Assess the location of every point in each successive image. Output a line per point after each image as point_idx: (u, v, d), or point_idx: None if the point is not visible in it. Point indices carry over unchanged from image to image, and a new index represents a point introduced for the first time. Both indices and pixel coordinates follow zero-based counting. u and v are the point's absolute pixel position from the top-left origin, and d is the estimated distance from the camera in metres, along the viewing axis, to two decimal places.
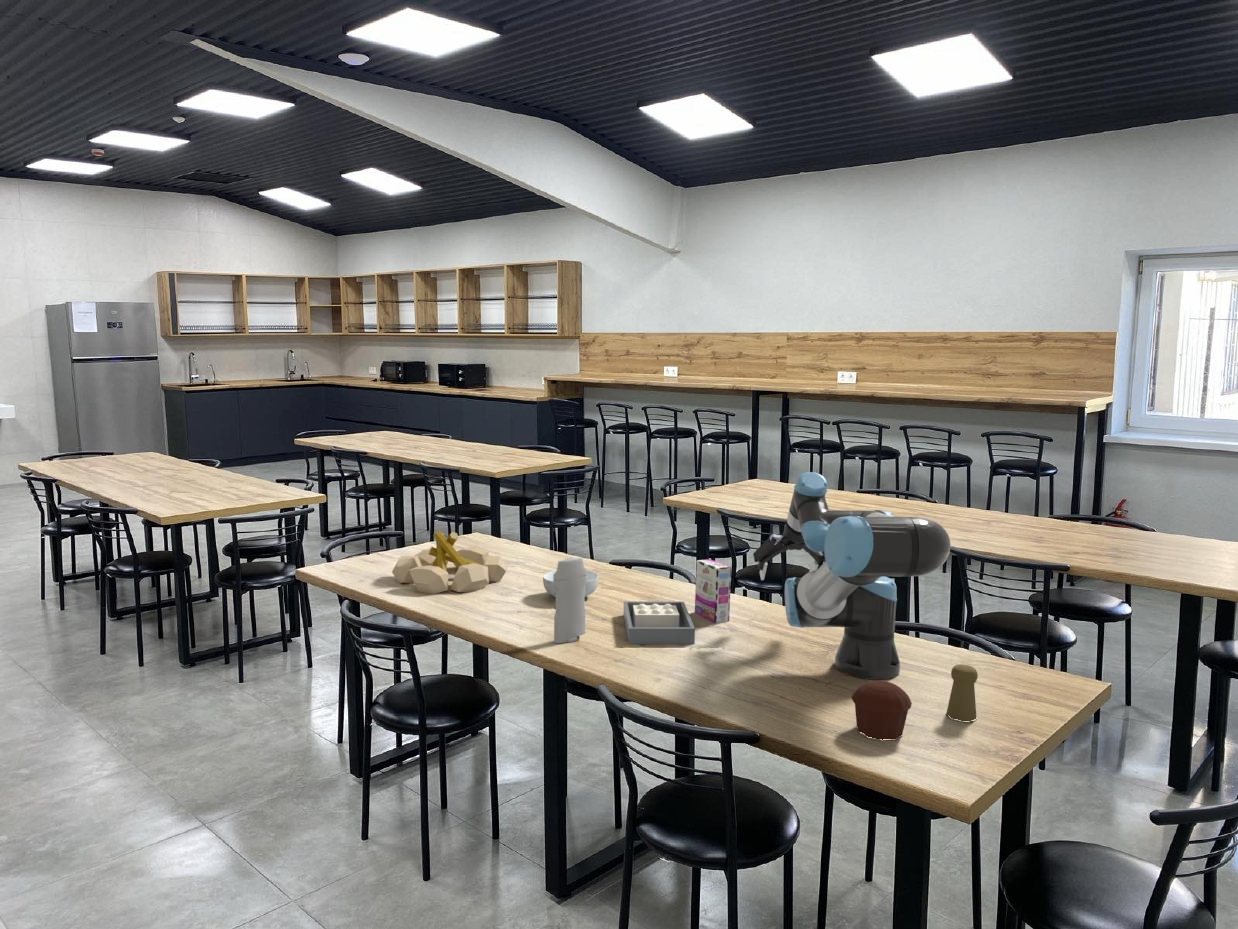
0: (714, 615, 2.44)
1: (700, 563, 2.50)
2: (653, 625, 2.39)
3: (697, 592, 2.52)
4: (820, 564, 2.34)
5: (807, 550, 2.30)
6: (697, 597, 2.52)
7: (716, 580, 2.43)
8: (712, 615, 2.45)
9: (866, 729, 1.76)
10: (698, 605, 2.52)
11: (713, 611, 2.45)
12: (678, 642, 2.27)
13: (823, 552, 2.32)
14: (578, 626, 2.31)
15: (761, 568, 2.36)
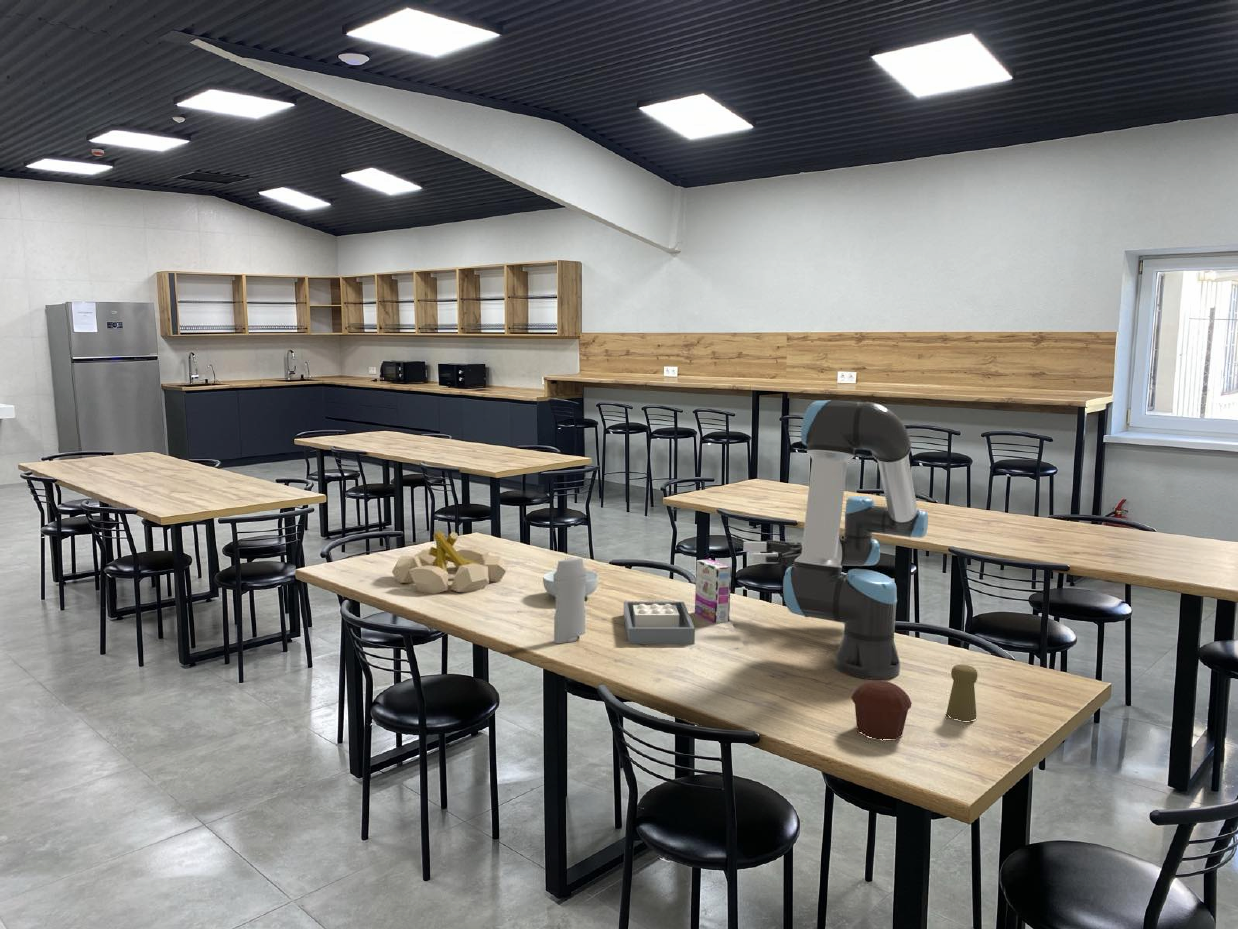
0: (714, 615, 2.44)
1: (700, 563, 2.50)
2: (653, 625, 2.39)
3: (697, 592, 2.52)
4: None
5: (795, 549, 2.45)
6: (697, 597, 2.52)
7: (716, 580, 2.43)
8: (712, 615, 2.45)
9: (866, 729, 1.76)
10: (698, 605, 2.52)
11: (713, 611, 2.45)
12: (678, 642, 2.27)
13: (795, 554, 2.41)
14: (578, 626, 2.31)
15: None
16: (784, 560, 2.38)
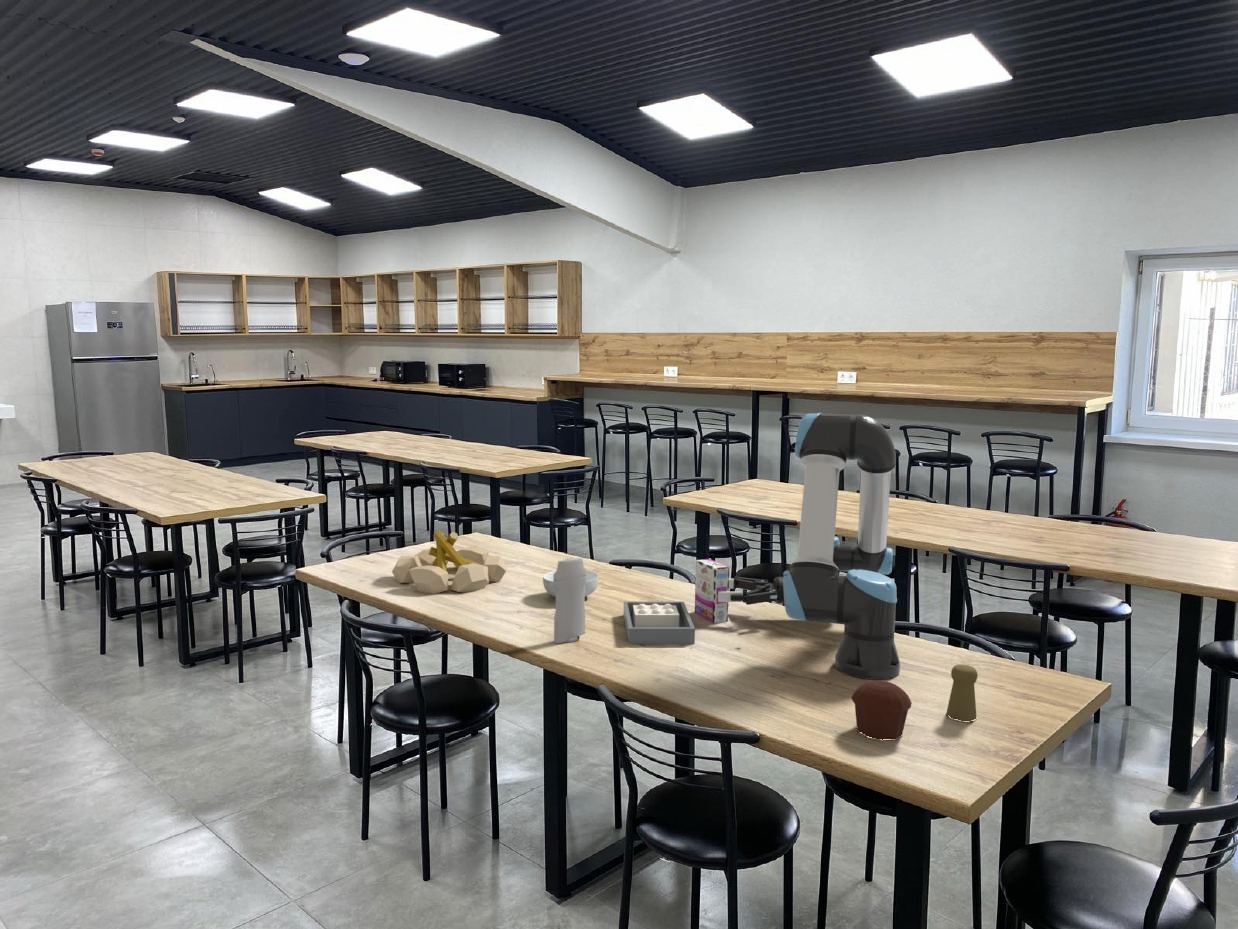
0: (712, 615, 2.44)
1: (699, 563, 2.50)
2: (653, 625, 2.39)
3: (696, 592, 2.52)
4: None
5: (761, 587, 2.47)
6: (697, 597, 2.52)
7: (714, 580, 2.43)
8: (710, 615, 2.45)
9: (866, 729, 1.76)
10: (697, 605, 2.52)
11: (711, 610, 2.45)
12: (678, 642, 2.27)
13: (759, 593, 2.43)
14: (578, 626, 2.31)
15: None
16: (748, 599, 2.40)
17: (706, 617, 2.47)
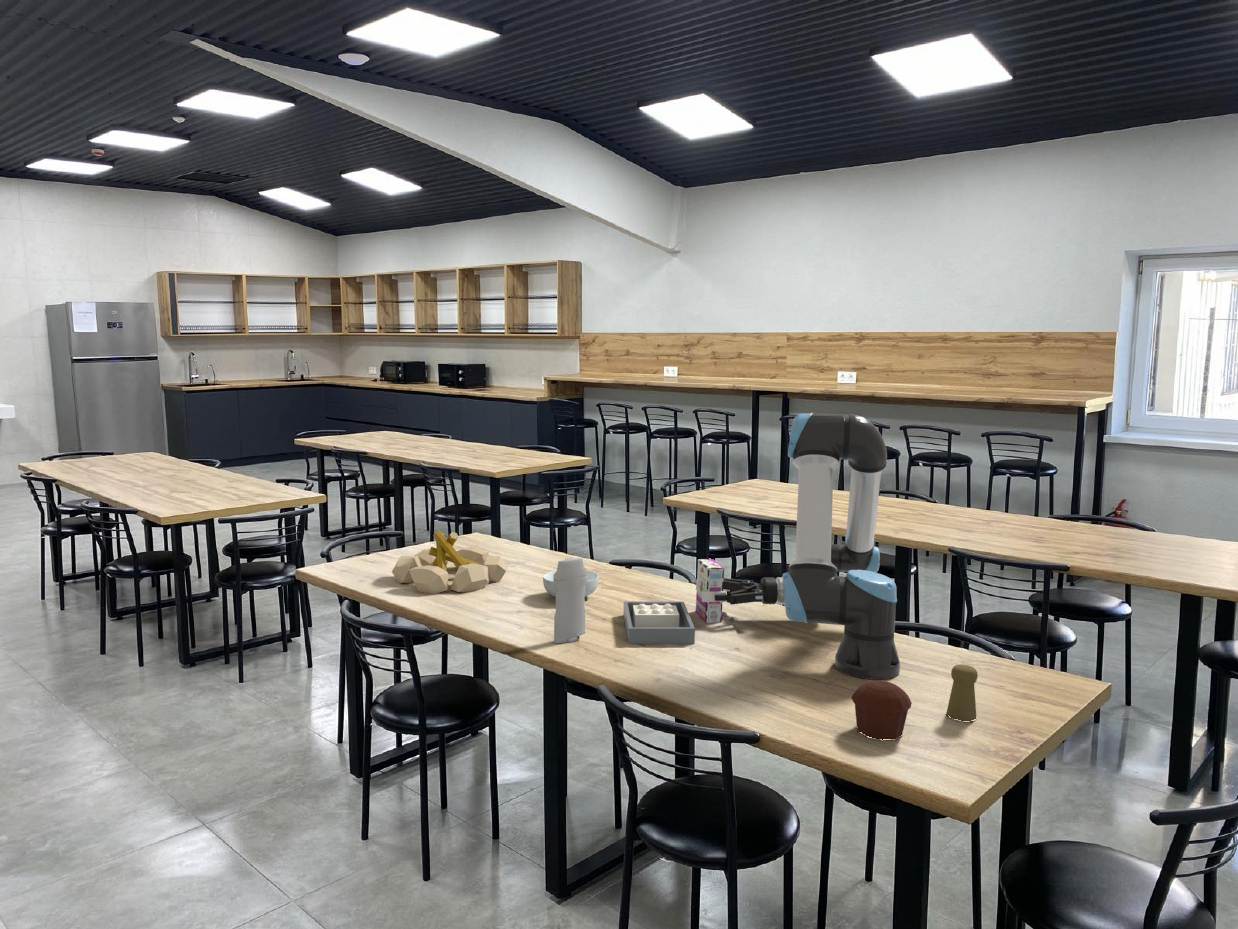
0: (705, 614, 2.45)
1: (699, 562, 2.51)
2: (653, 625, 2.39)
3: (697, 591, 2.53)
4: None
5: (747, 587, 2.46)
6: (697, 596, 2.53)
7: (707, 580, 2.43)
8: (704, 615, 2.46)
9: (866, 729, 1.76)
10: (697, 604, 2.53)
11: (704, 610, 2.45)
12: (678, 642, 2.27)
13: (744, 593, 2.42)
14: (578, 626, 2.31)
15: None
16: (732, 599, 2.40)
17: (701, 616, 2.48)
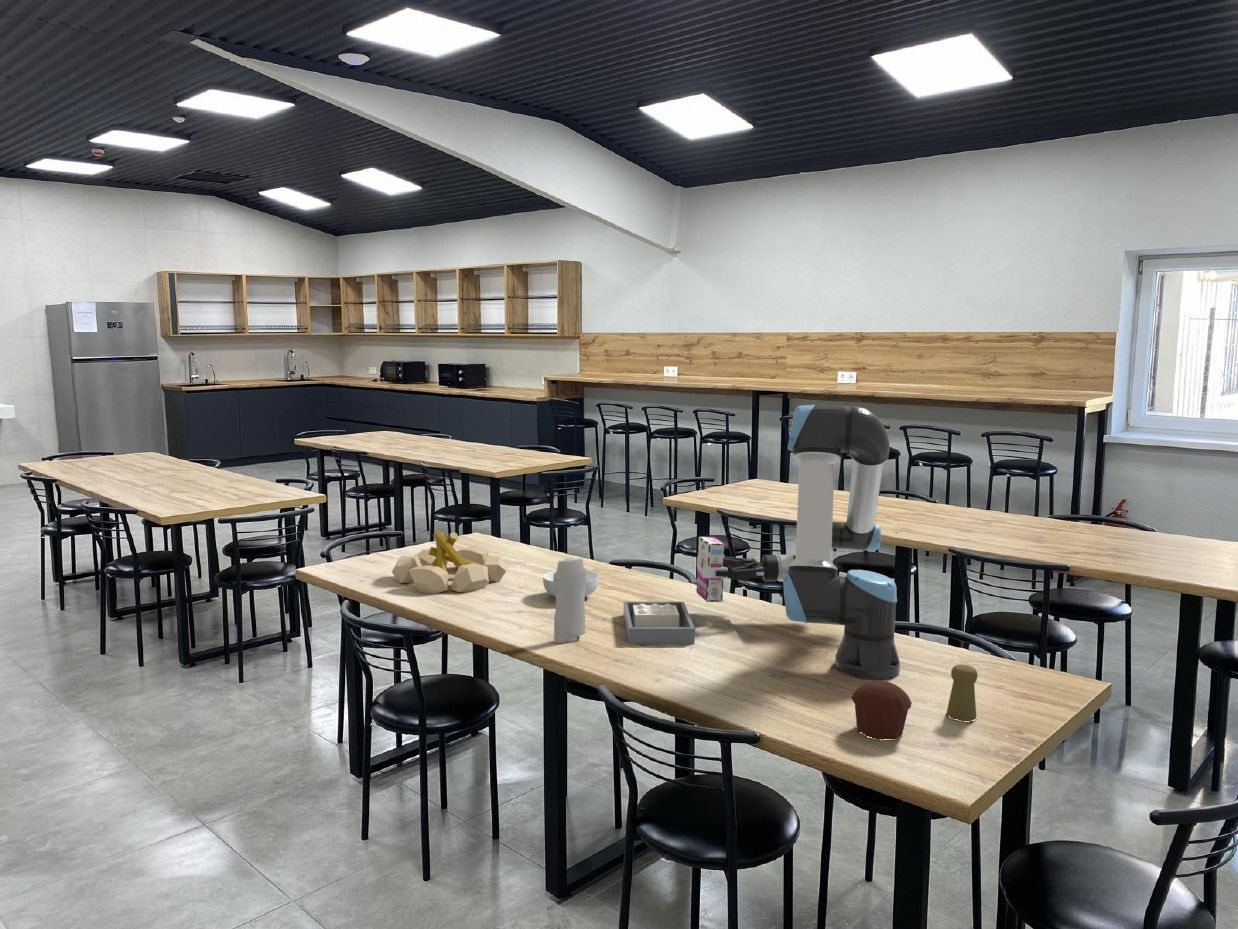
0: (706, 591, 2.44)
1: (700, 539, 2.50)
2: (653, 625, 2.39)
3: (698, 568, 2.53)
4: None
5: (748, 564, 2.46)
6: (698, 573, 2.52)
7: (708, 556, 2.43)
8: (705, 591, 2.45)
9: (866, 729, 1.76)
10: (698, 582, 2.52)
11: (705, 586, 2.45)
12: (678, 642, 2.27)
13: (745, 569, 2.42)
14: (578, 626, 2.31)
15: None
16: (733, 574, 2.40)
17: (702, 593, 2.47)
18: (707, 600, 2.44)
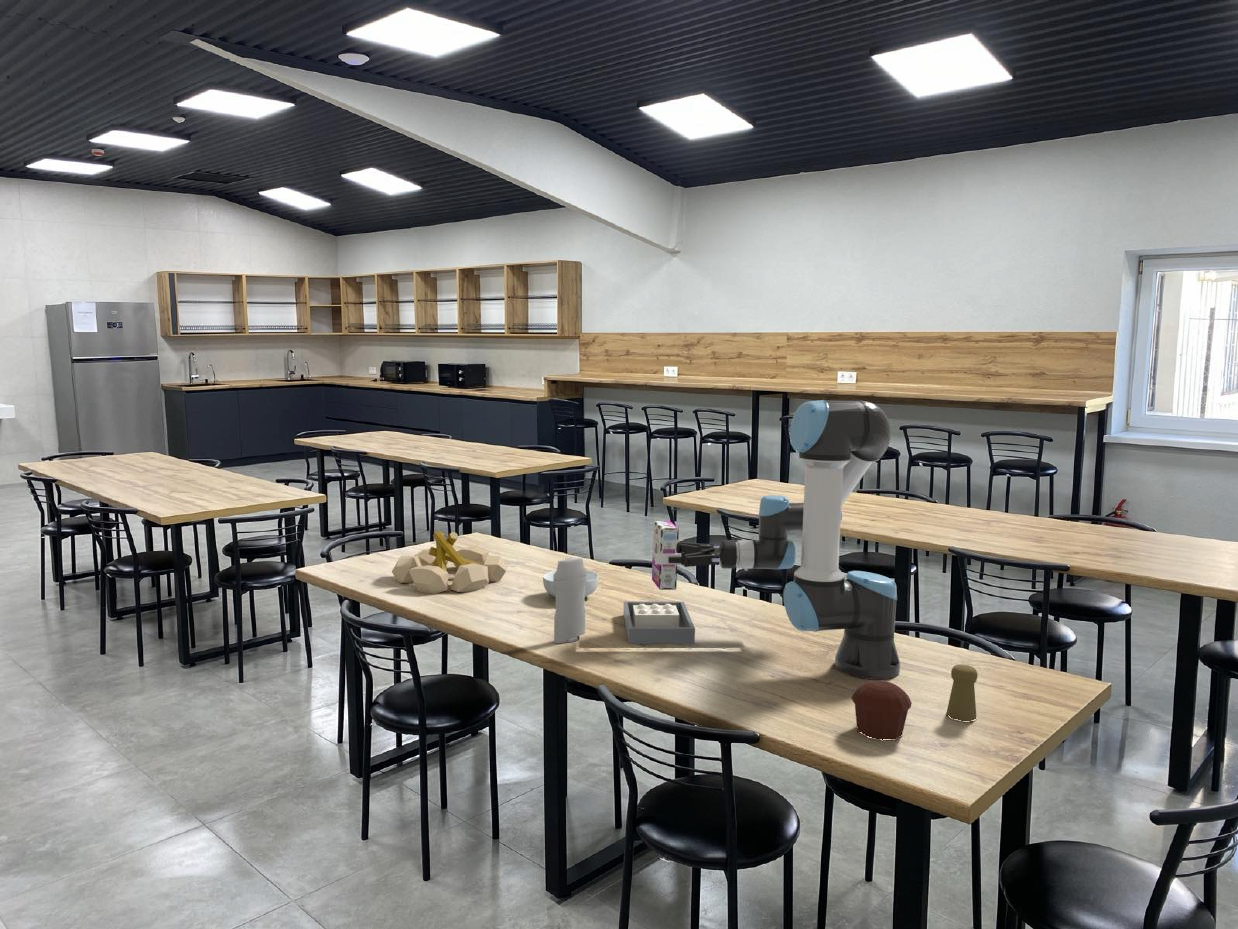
0: (659, 578, 2.31)
1: (655, 524, 2.37)
2: (653, 625, 2.39)
3: (653, 554, 2.39)
4: None
5: (704, 550, 2.32)
6: (653, 560, 2.39)
7: (660, 541, 2.29)
8: (658, 579, 2.32)
9: (866, 729, 1.76)
10: (653, 568, 2.39)
11: (658, 573, 2.31)
12: (678, 642, 2.27)
13: (700, 555, 2.28)
14: (578, 626, 2.31)
15: None
16: (686, 561, 2.26)
17: (656, 581, 2.34)
18: (660, 588, 2.30)
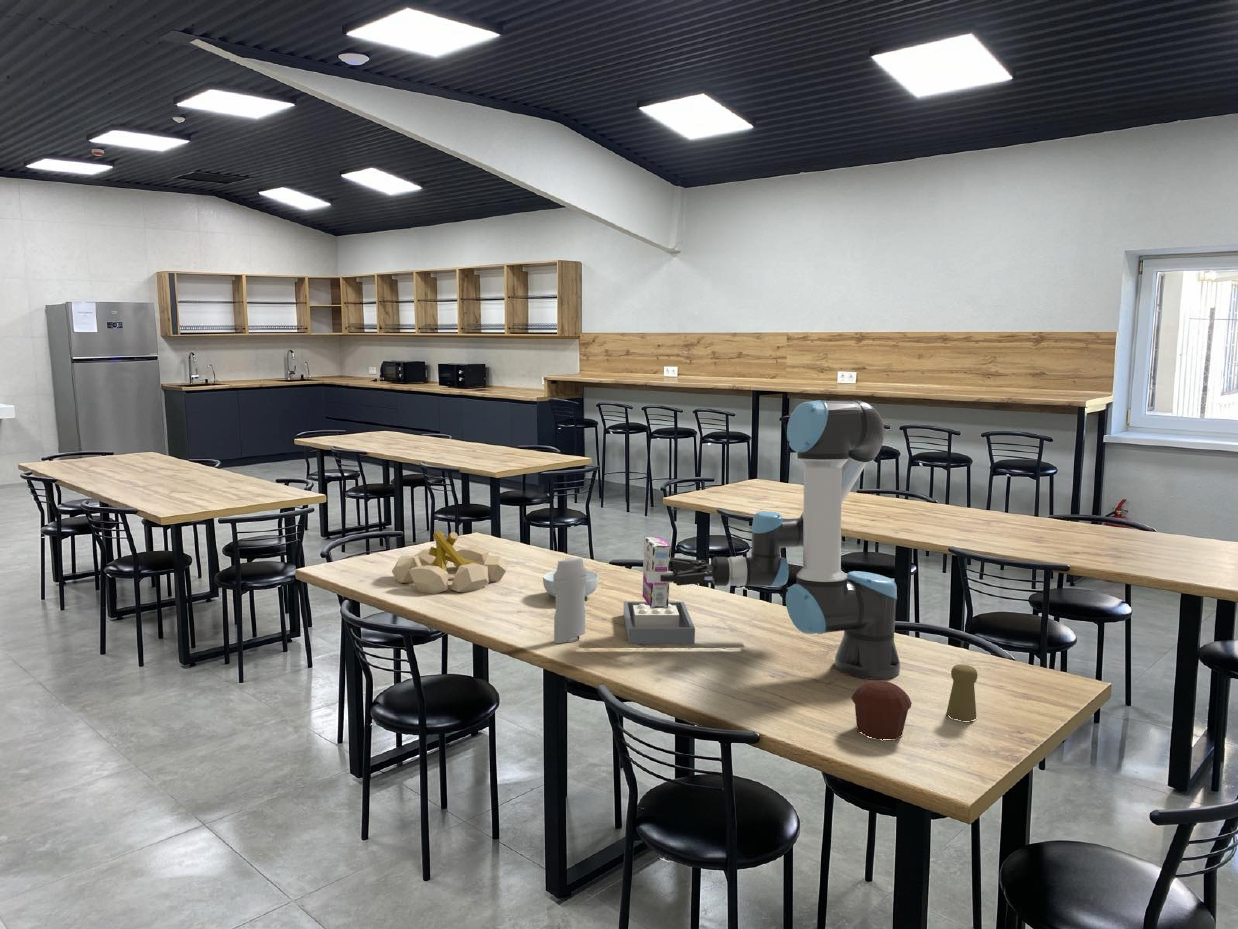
0: (650, 596, 2.27)
1: (646, 540, 2.33)
2: (653, 625, 2.39)
3: (643, 571, 2.35)
4: None
5: (696, 567, 2.29)
6: (643, 576, 2.35)
7: (652, 559, 2.25)
8: (649, 597, 2.28)
9: (866, 729, 1.76)
10: (643, 585, 2.35)
11: (650, 591, 2.27)
12: (678, 642, 2.27)
13: (692, 574, 2.24)
14: (578, 626, 2.31)
15: None
16: (679, 579, 2.22)
17: (647, 598, 2.30)
18: (651, 606, 2.26)
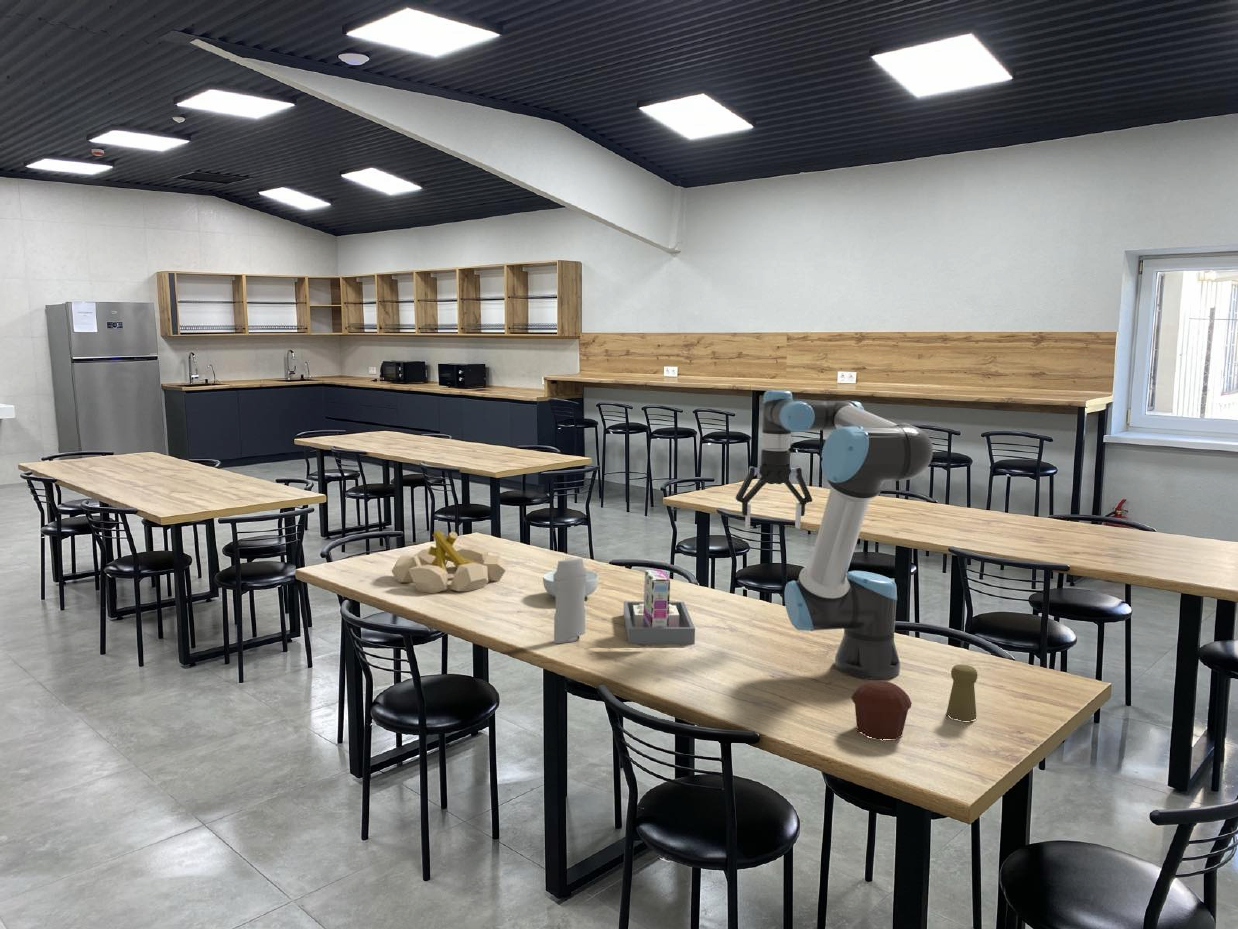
0: None
1: (646, 573, 2.34)
2: None
3: (644, 604, 2.36)
4: (803, 503, 2.35)
5: (787, 482, 2.34)
6: (644, 609, 2.36)
7: (652, 592, 2.26)
8: None
9: (866, 729, 1.76)
10: (644, 618, 2.36)
11: (650, 625, 2.28)
12: (678, 642, 2.27)
13: (803, 486, 2.35)
14: (578, 626, 2.31)
15: (745, 513, 2.35)
16: None
17: None
18: None
